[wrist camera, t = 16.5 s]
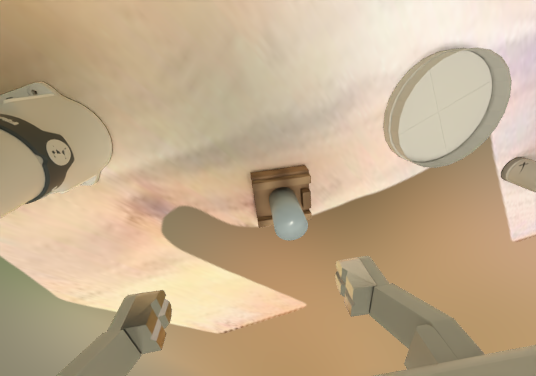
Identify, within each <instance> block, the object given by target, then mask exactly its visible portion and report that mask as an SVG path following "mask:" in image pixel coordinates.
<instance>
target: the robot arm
mask: <svg viewBox="0 0 536 376" xmlns="http://www.w3.org/2000/svg"><path fill="white" fill-rule="evenodd" d="M35 91H36V92H37V94H36V93H35ZM111 155H112V142H111V138H110V135H109V133H108V131H107V129H106V127H105V126H104V124H103V123H102V121H101V120H100V119H99V118H98V117H97V116H96V115H95V114H94V113H93V112H92V111H90V110H89V109H88V108H86V107H85V106H83V105H81V104H80V103H78V102H75V101H73V100H71V99H68V98H66V97H64V96H62V95H61V94H60V93H58V92H57V91H56V90H55V89H54V88H52V87H51V86H50V85H48V84H46V83H44V82H36V83H32V84H29V85H27V86H24V87H21V88H18V89H16V90H13V91H10V92H8V93H5V94H2V95H0V218H2V217H3V216H5V215H7V214H9V213H10V212H12V211H14V210H15V209H17V208H19V207H20V206H22V205H24V204H28V203H31V202H34V201H36V200H38V199H41V198H43V197H45V196H47V195H49V194H52V193H66V192H68V191H70V190H71V189H73V188H75V187H77V186H79V185H93V184H95V183H97V182H98V179H99V175H100V172H101V170H102V169H103V168H104V167H105V166H106V165H107V164H108V162H109V160H110V158H111ZM336 268H337V270H338V271H337V272H336V284H337V287H338V290H339V292H340V294H341V295H342V296H344V297H345V301H344V303H345V305H346V308H347V310H348V312H349V314H350V316H359V315H365V314H369V315H370V316H371V317H372V318H374V319H375V320H376V321H377V322H378V323H379V324H381V325H382V326H383V327H384V328H385V329H386V330H387V331H389V332H390V333H391V334H392V335H393V336H394V337H396V338H397V339H398V340H399V341H400V342H401V343H403V344H404V345H405V346H406V347H407V348H408V349H409V351H408V354H407V357H406V360H405V363H404V364H405V366H406V368H407V370H402V371H396V372H391V373H386V374H381V375H375V376H536V345H534V346H529V347H523V348H518V349H513V350H507V351H502V352H496V353H492V354H486V355H485V354H484V353H483V352H482V351H481V349H480V348H479V347H478V346H477V345H476V344H475V343H474V341H473V340H472V339H471V338H470V337H469V336H468V335H467V333H466V332H465V331H464V330H463V329H462V328H461V327H460V325H459V324H458V323H457V322H456V321H455V320H454V319H453V318H451V317H450V316H448V315H446V314H445V313H443V312H441V311H440V310H438V309H436V308H434V307H433V306H430V305H429V304H427V303H426V302H424V301H422V300H420V299H419V298H417V297H415V296H414V295H412V294H410V293H408V292H407V291H405V290H403V289H402V288H400V287H398V286H396V285H395V284H393V283H392V284H389V282H388V281H387V280H386V278H385V277H384V276H383V274H382V273H381V271H380V270H379V269H378V267H377V266H376V264H375V263H374V262H373V260H372V259H371V257H369V256H364V257H358V258H351V259H345V260H340V261H337V262H336ZM165 296H166V294H165V292H164V291H163V290H160V291H152V292H145V293H139V294H132V295H128V296H126V297H125V298H124V300H123V302H122V304H121V306H120V308H119V310H118V311H117V313H116V315H115V317H114V319H113V321H112V323H111V325H110V327H109V329H108V330H107V332H105V333H102V334H101V335H100V336H99V337H98V338H97V339H96V340H95V341H94V342H93V343H91V344H90V345H89V346H88V347H87V348H86V349H85V350H84V351H83V352H82V353H80V354H79V355H78V356H77V357H76V358H75V359H74V360H73V361H72V362H71V363H69V364H68V365H67V366H66V367H65V368H64V369H63V370H62V371H61V372H60V373H58V375H56V376H126V375H127V374H128V373H129V371H130V370H131V369H132V367H133V366H134V365H135V363H136V362H137V361H138V359H139V358H140V357H141V354H145V353H150V352H155V351H159V350H162V347H163V344H164V340H165V337H166V332H165V328H166V327H167V326H168V324H169V323H170V319H171V312H172V309H171V304H170V302H169V301H168V300H166V299H165Z"/></svg>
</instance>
